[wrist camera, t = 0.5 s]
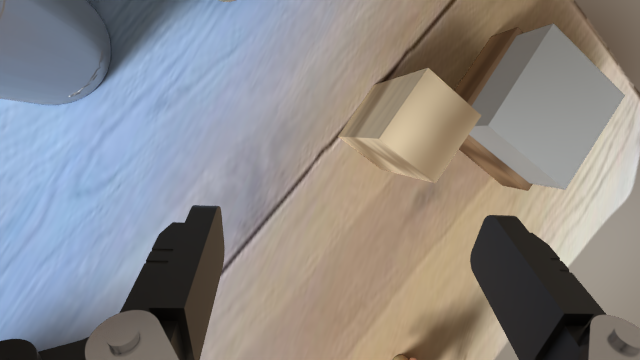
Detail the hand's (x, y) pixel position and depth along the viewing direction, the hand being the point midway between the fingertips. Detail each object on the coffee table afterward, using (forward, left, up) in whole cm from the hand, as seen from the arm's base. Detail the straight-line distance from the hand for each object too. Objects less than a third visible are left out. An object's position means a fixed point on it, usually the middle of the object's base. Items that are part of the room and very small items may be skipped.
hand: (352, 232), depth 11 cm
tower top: (+16, +18, -20) cm, 31 cm away
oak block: (+6, +9, -23) cm, 26 cm away
